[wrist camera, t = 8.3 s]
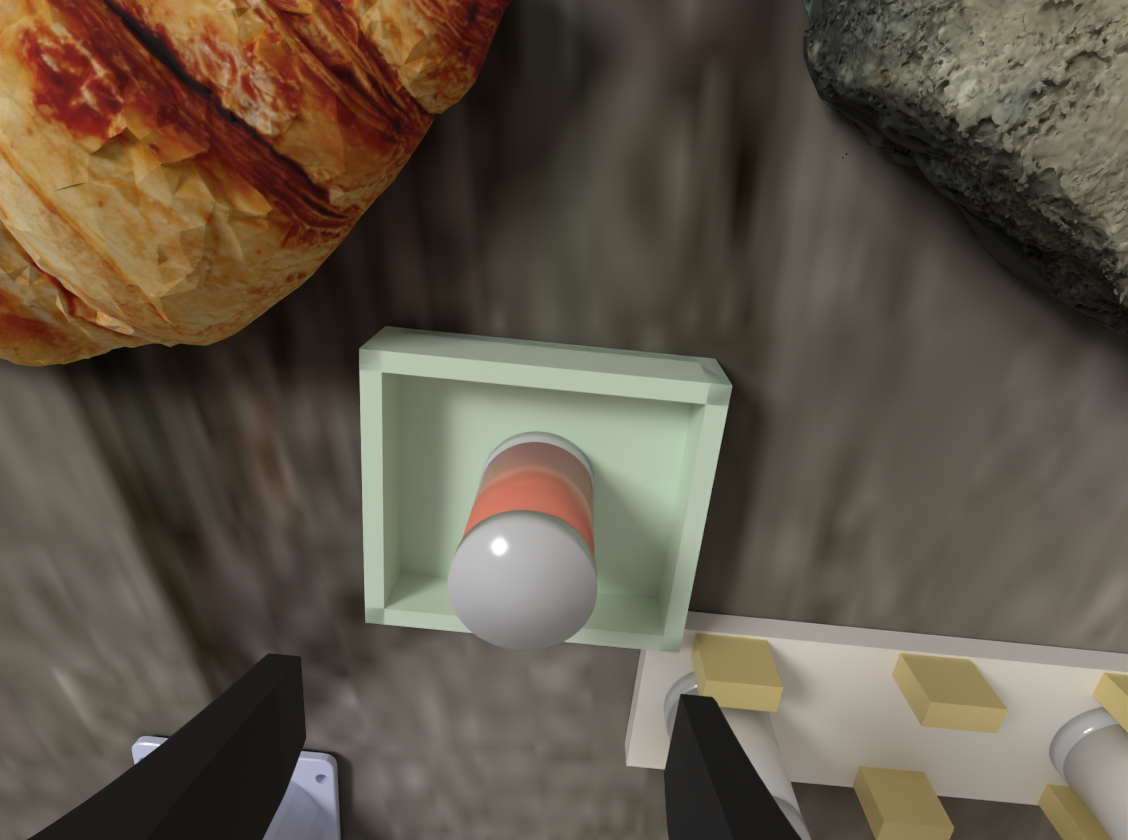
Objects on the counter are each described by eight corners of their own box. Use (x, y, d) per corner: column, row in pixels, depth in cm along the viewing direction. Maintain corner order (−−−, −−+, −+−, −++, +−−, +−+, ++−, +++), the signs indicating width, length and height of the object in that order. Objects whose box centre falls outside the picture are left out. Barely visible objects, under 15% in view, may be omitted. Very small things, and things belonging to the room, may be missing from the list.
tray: (670, 603, 23) (679, 652, 21) (387, 575, 23) (365, 622, 21) (715, 359, 20) (732, 385, 18) (385, 325, 20) (358, 348, 18)
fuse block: (1120, 791, 26) (1189, 873, 23) (624, 743, 26) (629, 819, 23) (1194, 660, 24) (1282, 733, 21) (648, 607, 23) (656, 672, 20)
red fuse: (589, 536, 22) (591, 655, 17) (480, 528, 22) (447, 644, 17) (599, 435, 20) (603, 531, 15) (482, 427, 20) (447, 519, 15)
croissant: (57, 355, 25) (-41, 539, 19) (-311, 109, 17) (-631, 295, 12) (576, 72, 20) (636, 209, 15) (371, -417, 13) (344, -493, 8)
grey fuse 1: (754, 748, 24) (799, 909, 19) (657, 739, 24) (676, 897, 19) (774, 671, 23) (829, 822, 18) (671, 662, 23) (696, 809, 18)
